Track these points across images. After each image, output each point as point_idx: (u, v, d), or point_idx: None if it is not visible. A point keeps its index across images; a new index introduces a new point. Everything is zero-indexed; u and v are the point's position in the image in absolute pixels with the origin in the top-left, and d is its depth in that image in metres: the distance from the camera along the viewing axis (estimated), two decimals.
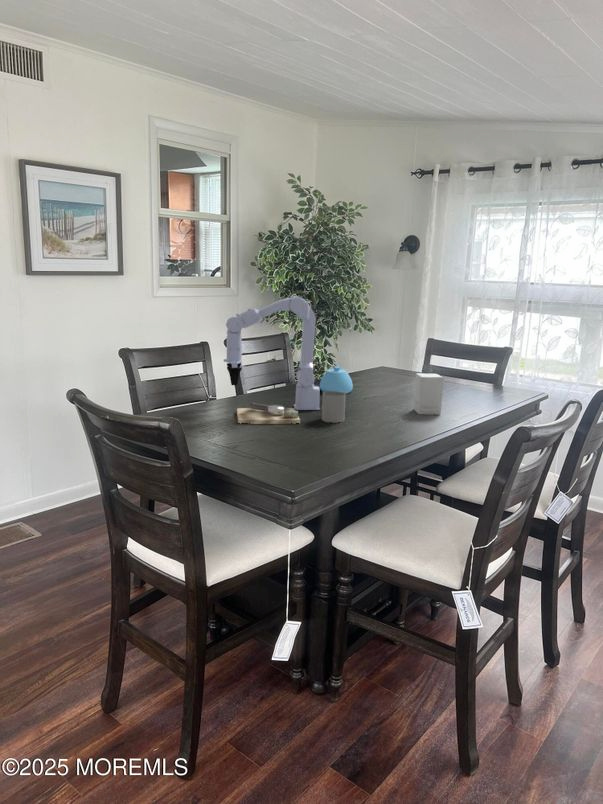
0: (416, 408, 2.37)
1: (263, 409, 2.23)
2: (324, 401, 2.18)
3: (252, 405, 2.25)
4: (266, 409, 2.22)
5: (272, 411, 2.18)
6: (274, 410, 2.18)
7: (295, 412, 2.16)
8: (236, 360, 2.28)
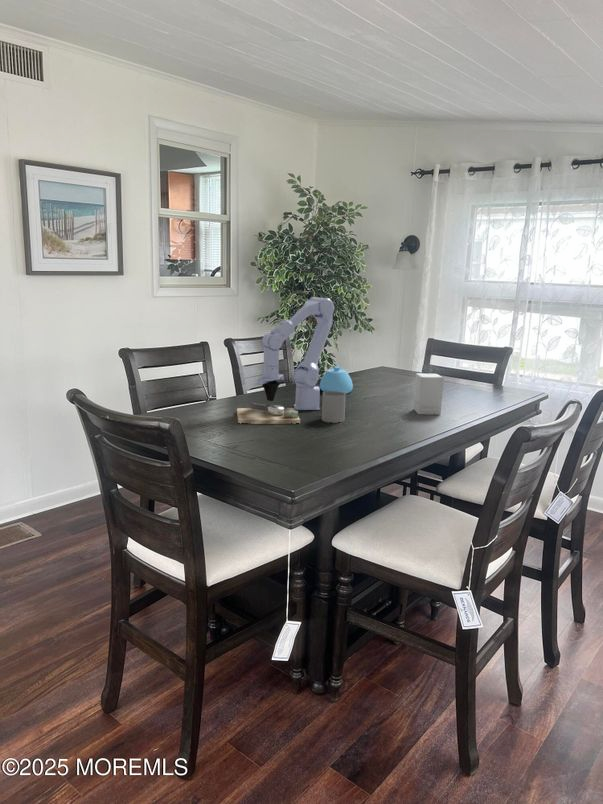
0: (416, 408, 2.37)
1: (263, 409, 2.23)
2: (324, 401, 2.18)
3: (252, 405, 2.25)
4: (266, 409, 2.22)
5: (272, 411, 2.18)
6: (274, 410, 2.18)
7: (295, 412, 2.16)
8: (268, 377, 2.25)
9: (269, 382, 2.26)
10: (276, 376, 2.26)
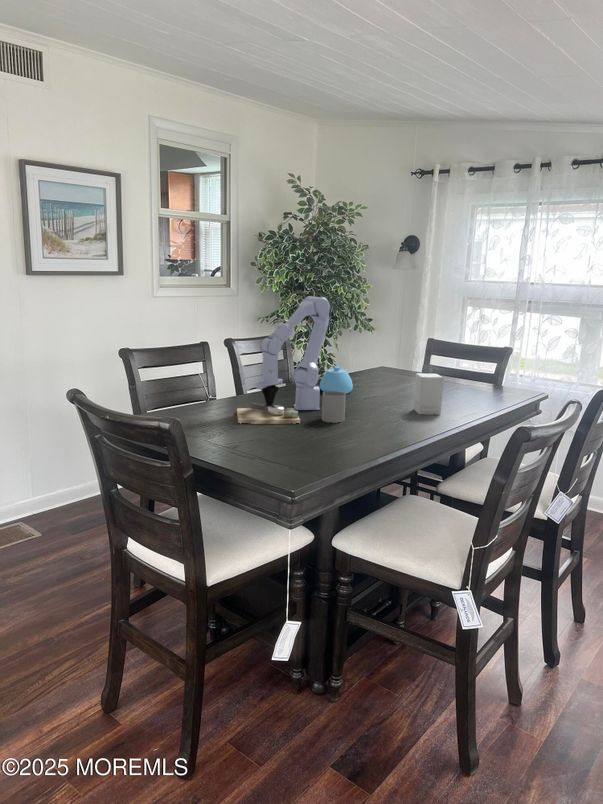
0: (416, 408, 2.37)
1: (263, 409, 2.23)
2: (324, 401, 2.18)
3: (252, 405, 2.25)
4: (266, 409, 2.22)
5: (272, 411, 2.18)
6: (274, 410, 2.18)
7: (295, 412, 2.16)
8: (267, 382, 2.25)
9: (268, 387, 2.26)
10: (275, 381, 2.26)
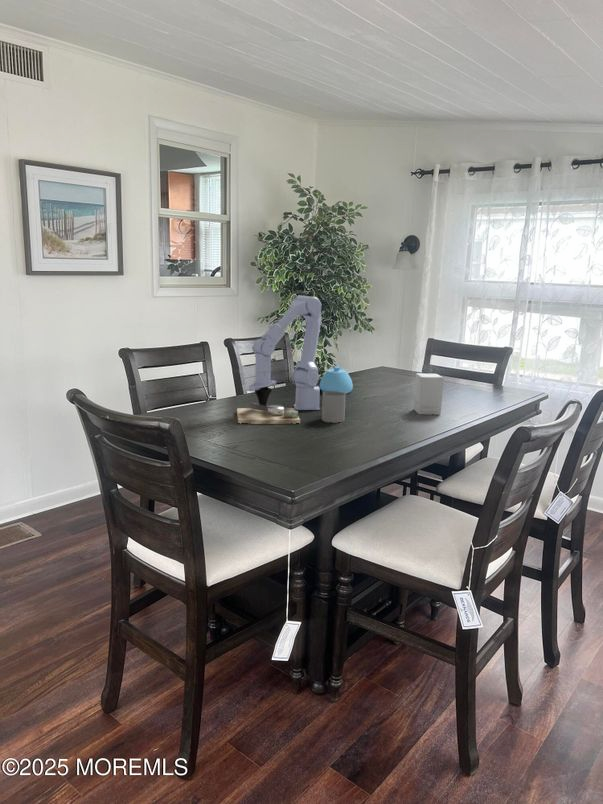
0: (416, 408, 2.37)
1: (263, 409, 2.23)
2: (324, 401, 2.18)
3: (252, 405, 2.25)
4: (266, 409, 2.22)
5: (272, 411, 2.18)
6: (274, 410, 2.18)
7: (295, 412, 2.16)
8: (260, 384, 2.21)
9: (261, 388, 2.22)
10: (268, 382, 2.22)
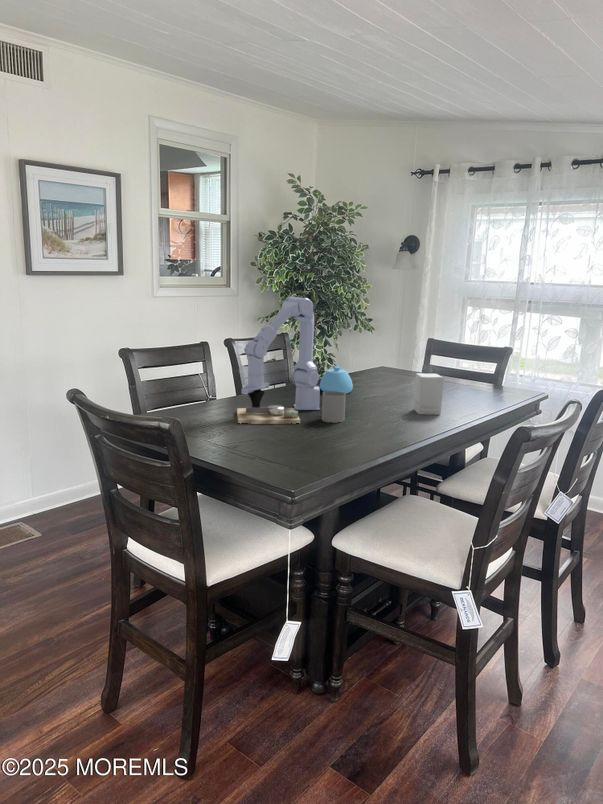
0: (416, 408, 2.37)
1: (262, 411, 2.20)
2: (324, 401, 2.18)
3: (248, 409, 2.19)
4: (265, 411, 2.20)
5: (278, 411, 2.18)
6: (279, 410, 2.18)
7: (295, 412, 2.16)
8: (253, 386, 2.17)
9: (254, 391, 2.18)
10: (261, 385, 2.18)
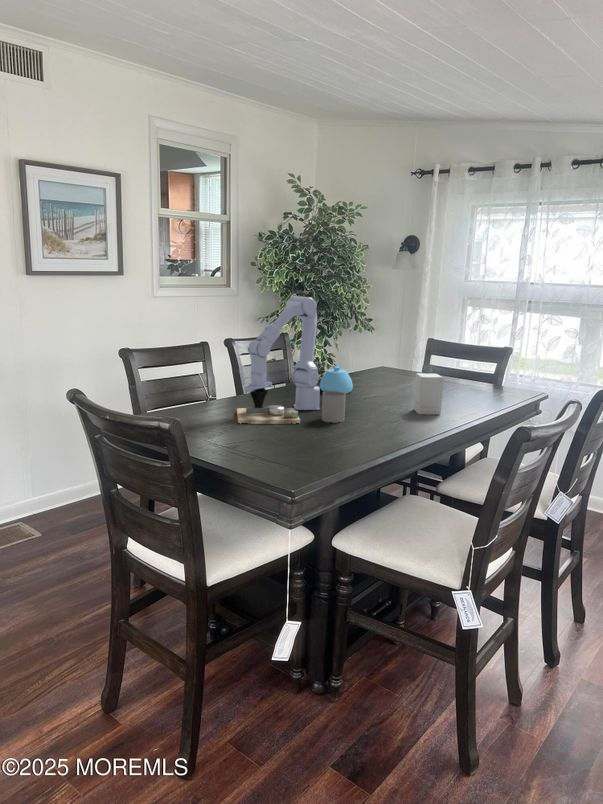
0: (416, 408, 2.37)
1: (263, 411, 2.19)
2: (324, 401, 2.18)
3: (248, 410, 2.18)
4: (266, 411, 2.19)
5: (279, 411, 2.18)
6: (280, 410, 2.19)
7: (295, 412, 2.16)
8: (256, 385, 2.19)
9: (257, 390, 2.20)
10: (264, 384, 2.20)
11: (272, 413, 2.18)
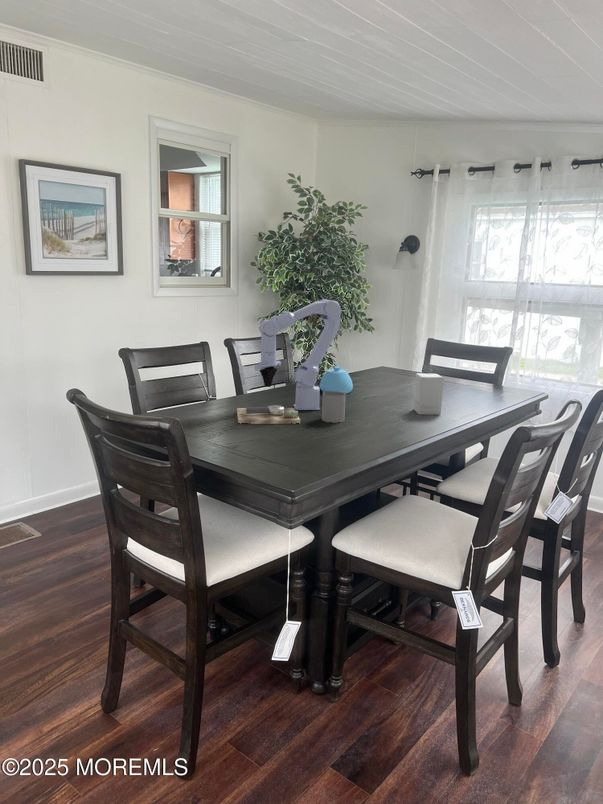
0: (416, 408, 2.37)
1: (263, 411, 2.19)
2: (324, 401, 2.18)
3: (248, 410, 2.18)
4: (266, 411, 2.19)
5: (279, 411, 2.18)
6: (280, 410, 2.19)
7: (295, 412, 2.16)
8: (265, 363, 2.27)
9: (266, 368, 2.28)
10: (273, 362, 2.28)
11: (272, 413, 2.18)
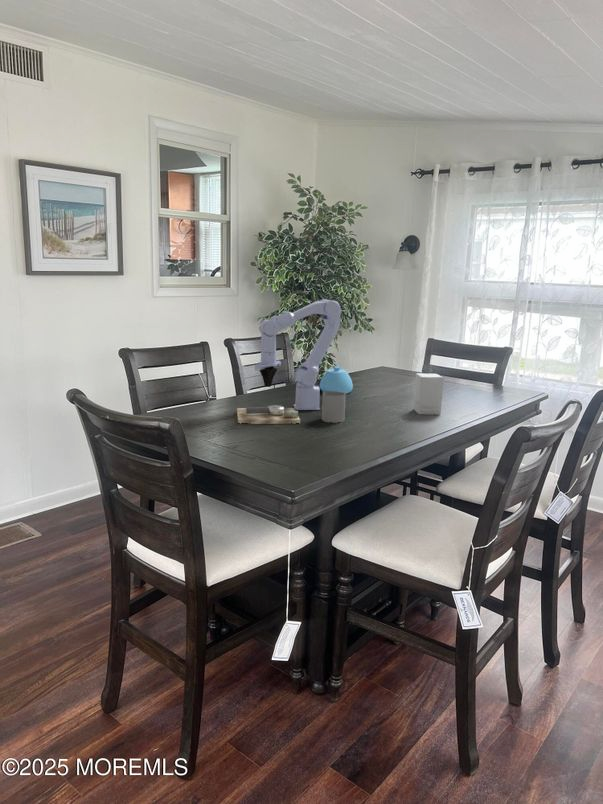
0: (416, 408, 2.37)
1: (263, 411, 2.19)
2: (324, 401, 2.18)
3: (248, 410, 2.18)
4: (266, 411, 2.19)
5: (279, 411, 2.18)
6: (280, 410, 2.19)
7: (295, 412, 2.16)
8: (265, 363, 2.27)
9: (266, 368, 2.28)
10: (273, 362, 2.28)
11: (272, 413, 2.18)
